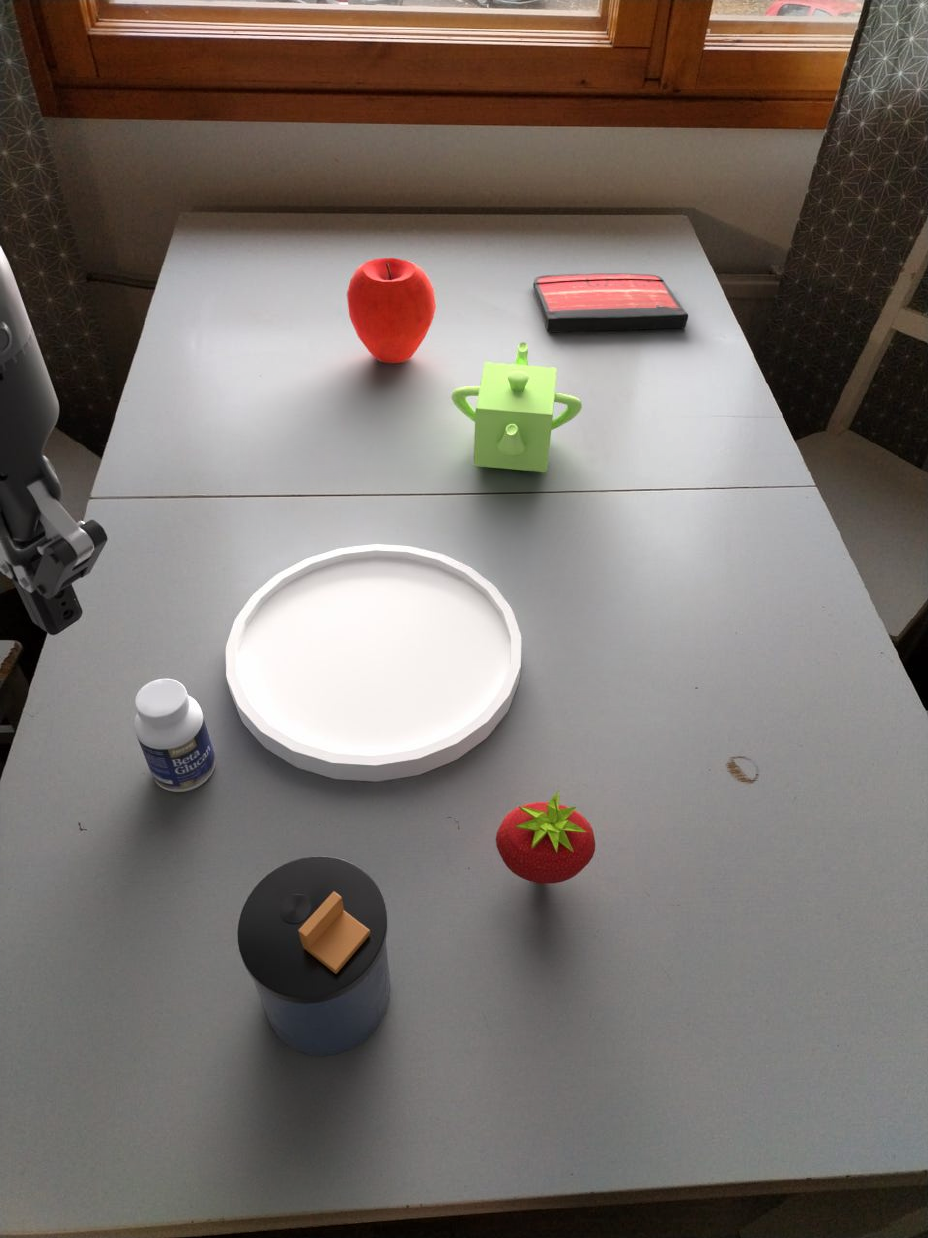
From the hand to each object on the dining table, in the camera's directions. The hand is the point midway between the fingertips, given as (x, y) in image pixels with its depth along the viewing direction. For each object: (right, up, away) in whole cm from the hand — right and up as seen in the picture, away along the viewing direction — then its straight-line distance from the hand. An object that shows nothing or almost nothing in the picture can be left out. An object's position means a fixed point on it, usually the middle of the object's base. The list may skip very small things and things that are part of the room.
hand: (60, 621), depth 49 cm
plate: (+14, -4, +37) cm, 40 cm away
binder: (+44, +48, +88) cm, 109 cm away
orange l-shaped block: (+15, -20, +6) cm, 25 cm away
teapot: (+28, +21, +61) cm, 70 cm away
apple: (+13, +37, +76) cm, 86 cm away
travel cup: (+13, -27, +15) cm, 33 cm away
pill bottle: (-2, -13, +28) cm, 31 cm away
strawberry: (+28, -21, +22) cm, 41 cm away
